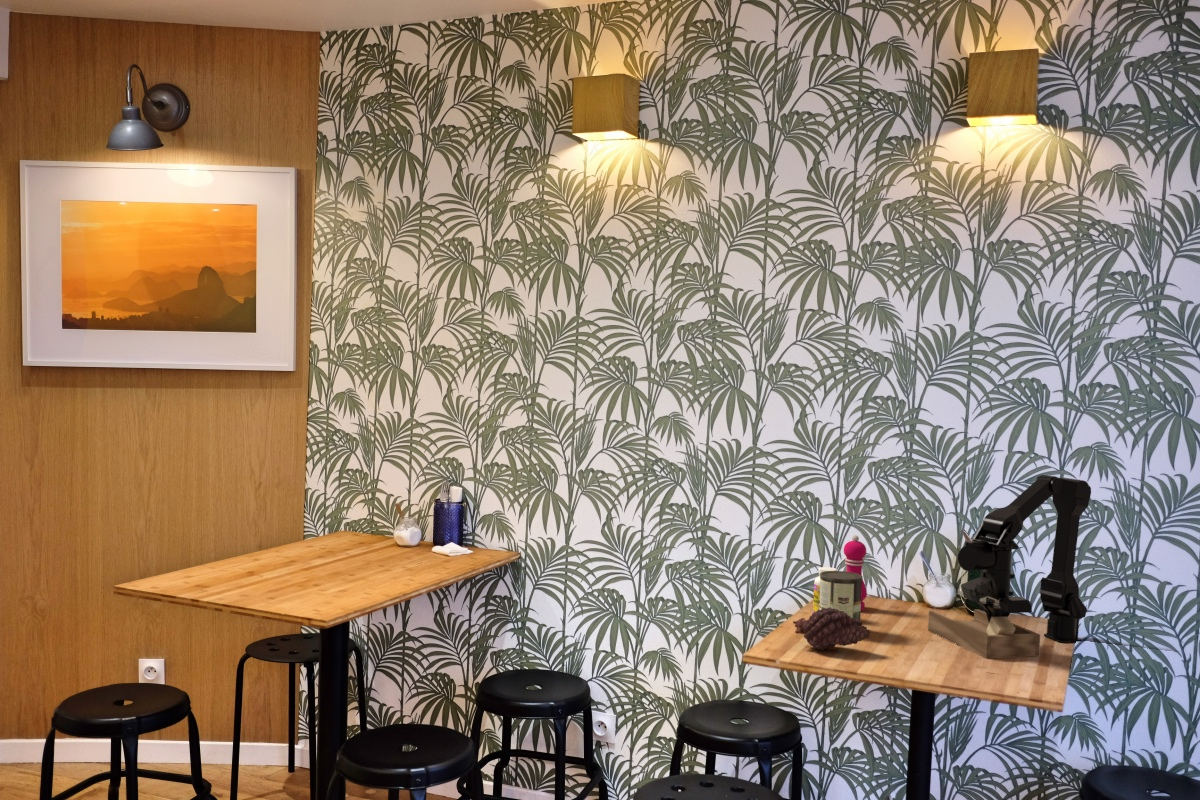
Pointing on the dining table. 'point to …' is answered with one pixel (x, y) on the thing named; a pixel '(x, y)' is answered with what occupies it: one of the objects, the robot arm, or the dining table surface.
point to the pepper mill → (856, 562)
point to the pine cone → (831, 629)
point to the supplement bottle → (817, 588)
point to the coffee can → (841, 592)
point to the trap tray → (984, 636)
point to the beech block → (1000, 626)
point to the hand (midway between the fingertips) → (994, 633)
